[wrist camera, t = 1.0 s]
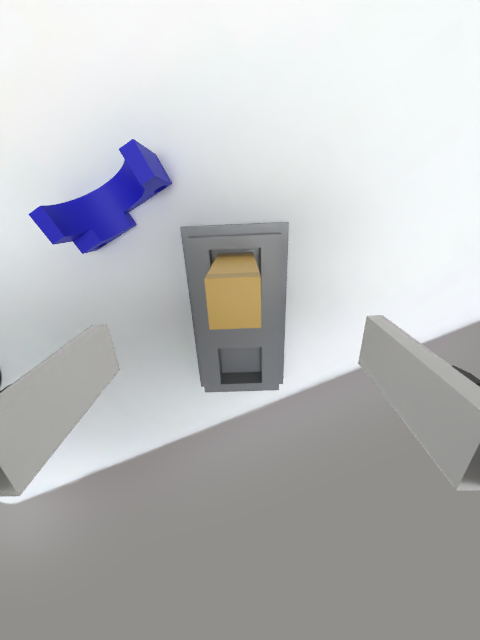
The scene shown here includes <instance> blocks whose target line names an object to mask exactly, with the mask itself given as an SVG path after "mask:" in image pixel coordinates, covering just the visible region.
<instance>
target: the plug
mask: <svg viewBox="0 0 480 640" xmlns="http://www.w3.org/2000/svg"><path fill="white" fill-rule="evenodd" d="M204 280H205V290H206V300H207V310H208V320H209V329H210V330H214V329H241V328H261V276H260V273H259V270H258V266H257V263H256V260H255V257H254V254H253V252H239V253H218V255H217V257H216V259H215V261H214V262H213V264H212V266H211V268H210V270H209V271H208V273H207V275H206V277H205V279H204Z"/></svg>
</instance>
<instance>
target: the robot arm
mask: <svg viewBox="0 0 480 640" xmlns="http://www.w3.org/2000/svg"><path fill="white" fill-rule="evenodd" d="M358 363H359V364H360V366H361V367H362V368H363V370H364V371H365V372H366V373H367V375H368V376H369V377H370V379H371V380H372V381H373V383H374V384H375V385H376V386H377V388H378V389H379V390H380V392H381V393H382V394H383V396H384V397H385V398H386V399H387V401H388V402H389V403H390V405H391V406H392V407H393V409H394V410H395V411H396V413H397V414H398V415H399V416H400V418H401V419H402V420H403V422H404V423H405V424H406V425H407V427H408V428H409V429H410V431H411V432H412V433H413V435H414V436H415V437H416V439H417V440H418V441H419V442H420V444H421V445H422V446H423V448H424V449H425V450H426V452H427V453H428V454H429V456H430V457H431V458H432V459H433V461H434V462H435V463H436V465H437V466H438V467H439V469H440V470H441V471H442V473H443V474H444V475H445V476H446V478H447V479H448V480H449V482H450V483H451V484H452V486H453V487H454V488H455V489H456V490H480V380H479V379H478V378H476V377H475V376H473V375H472V374H470V373H468V372H466V371H464V370H462V369H460V368H458V367H455V366H451V365H449V364H448V363H447V362H445V361H444V360H442V359H441V358H440V357H438V356H437V355H436V354H434V353H433V352H431V351H430V350H429V349H427V348H426V347H425V346H423V345H422V344H421V343H419V342H418V341H417V340H415V339H414V338H413V337H411V336H410V335H408V334H407V333H406V332H404V331H403V330H402V329H400V328H399V327H398V326H396V325H395V324H394V323H392V322H391V321H389V320H388V319H387V318H385V317H384V316H383V315H380V316H367V318H366V323H365V329H364V334H363V340H362V346H361V351H360V357H359V362H358ZM119 370H120V369H119V366H118V362H117V359H116V355H115V352H114V348H113V345H112V341H111V338H110V334H109V331H108V327H107V325H91V326H90V327H89V328H87V329H86V330H85V331H83V332H82V333H81V334H79V335H78V336H77V337H75V338H74V339H73V340H71V341H70V342H68V343H67V344H66V345H64V346H63V347H62V348H60V349H59V350H58V351H56V352H55V353H54V354H52V355H51V356H50V357H48V358H47V359H46V360H44V361H43V362H41V363H40V364H39V365H37V366H36V367H35V368H33V369H32V370H31V371H29V372H28V373H27V374H25V375H24V376H23V377H21V378H20V379H18V380H17V381H16V382H14V383H13V384H11V385H9V386H7V387H6V388H4V389H3V390H2V391H0V496H20V495H21V494H22V492H23V491H24V490H25V489H26V487H27V486H28V485H29V483H30V482H31V481H32V480H33V478H34V477H35V476H36V475H37V473H38V472H39V471H40V470H41V468H42V467H43V466H44V465H45V463H46V462H47V461H48V459H49V458H50V457H51V456H52V454H53V453H54V452H55V451H56V449H57V448H58V447H59V446H60V444H61V443H62V442H63V441H64V439H65V438H66V437H67V435H68V434H69V433H70V432H71V430H72V429H73V428H74V427H75V425H76V424H77V423H78V422H79V420H80V419H81V418H82V416H83V415H84V414H85V413H86V411H87V410H88V409H89V408H90V406H91V405H92V404H93V403H94V401H95V400H96V399H97V398H98V396H99V395H100V394H101V392H102V391H103V390H104V389H105V387H106V386H107V385H108V384H109V382H110V381H111V380H112V379H113V377H114V376H115V375H116V373H117V372H118V371H119Z"/></svg>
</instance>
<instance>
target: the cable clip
mask: <svg viewBox="0 0 480 640" xmlns="http://www.w3.org/2000/svg"><path fill="white" fill-rule="evenodd" d="M119 150H120V152H121V154H122V155H123V157H124V159H125V161H124V164H123V166H122V168H121V169H120V171H119V172H118V173H117V174H116V175H115V176H114V177H113V178H112V179H111V180H110V181H108V182H107V183H106V184H104V185H103V186H101V187H100V188H98V189H96V190H95V191H93V192H91V193H89V194H87V195H84V196H82V197H80V198H77V199H75V200H72V201H68V202H65V203H61V204H56V205H49V206H39V207H38V208H37V209H35V210H34V211H33V212H31V213H30V214H29V216H30V217H31V218H32V219H33V220H34V222H35V223H36V224H37V225H38V227H39V228H40V229H41V230H42V232H43V233H44V234H45V235H46V236H47V238H48V239H49V240H50V241H51V243H52V244H59V243H65V242H71V241H73V242H74V243H75V245H76V246H77V247H78V249H79V250H80V251H81V253H82V254H84V253H88V252H92V251H96V250H98V249H99V248H101V247H102V246H104V245H106V244H107V243H109V242H110V241H112V240H113V239H115V238H117V237H118V236H120V235H121V234H123V233H124V232H126V231H128V230H129V229H131V228H132V227H134V226H135V225H136V223H135V222H134V220H133V219H132V217H131V216H130V214H129V213H128V212H129V211H131V210H132V209H134V208H135V207H137V206H138V205H140V204H142V203H143V202H145V201H146V200H148V199H149V198H151V197H152V196H154V195H155V194H157V193H158V192H160V191H161V190H163V189H164V188H166V187H168V186H169V185H171V184H172V182H171V180H170V179H169V177H168V175H167V173H166V172H165V170H164V168H163V166H162V165H161V163H160V161H159V159H158V158H157V156H156V154H154V153H153V152H151V151H150V150H149V149H147V148H146V147H144V146H143V145H141V144H140V143H138V142H137V141H136V140H134V139H132V140H131V141H129V142H128V143H127V144H125V145H124V146H122V147H121V148H120V149H119Z"/></svg>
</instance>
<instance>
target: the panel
mask: <svg viewBox="0 0 480 640" xmlns="http://www.w3.org/2000/svg"><path fill="white" fill-rule="evenodd" d="M288 224H289V222H280V223H257V224H235V225H213V226H190V227H181V235H182V242H183V250H184V258H185V265H186V273H187V281H188V288H189V296H190V304H191V311H192V319H193V327H194V334H195V342H196V350H197V357H198V365H199V373H200V380H201V387H202V386H204V387H205V392H230V391H262V390H279V384H283V366H284V338H285V310H286V281H287V253H288ZM239 252H253V254H254V257H255V260H256V263H257V266H258V270H259V273H260V276H261V328H241V329H214V330H210V329H209V320H208V310H207V300H206V290H205V280H204V279H205V277H206V275H207V273H208V271H209V270H210V268H211V266H212V264H213V262H214V261H215V259H216V257H217V255H218V253H239Z"/></svg>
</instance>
